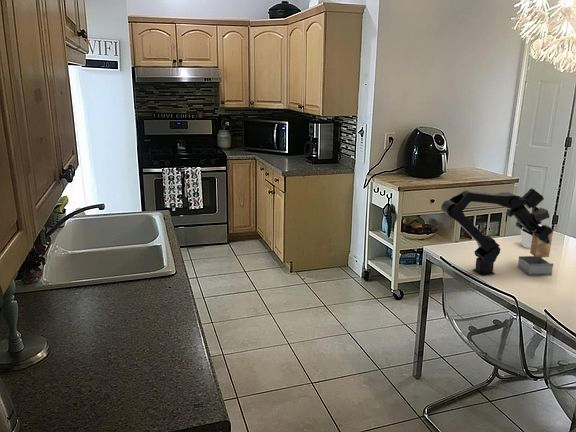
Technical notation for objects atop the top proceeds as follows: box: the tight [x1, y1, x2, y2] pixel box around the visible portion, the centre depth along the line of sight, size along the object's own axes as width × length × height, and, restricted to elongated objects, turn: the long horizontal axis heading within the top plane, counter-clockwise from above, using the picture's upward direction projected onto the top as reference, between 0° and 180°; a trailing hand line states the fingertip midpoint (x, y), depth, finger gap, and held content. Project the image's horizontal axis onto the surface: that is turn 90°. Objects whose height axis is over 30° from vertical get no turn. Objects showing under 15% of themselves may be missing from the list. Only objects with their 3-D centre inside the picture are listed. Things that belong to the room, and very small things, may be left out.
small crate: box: [529, 229, 554, 258], centre depth 205 cm, size 6×6×12 cm
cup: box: [520, 224, 542, 249], centre depth 237 cm, size 10×10×11 cm
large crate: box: [517, 255, 554, 277], centre depth 207 cm, size 10×10×5 cm
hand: (544, 240), depth 205 cm, fingers closed on small crate, 6 cm apart
